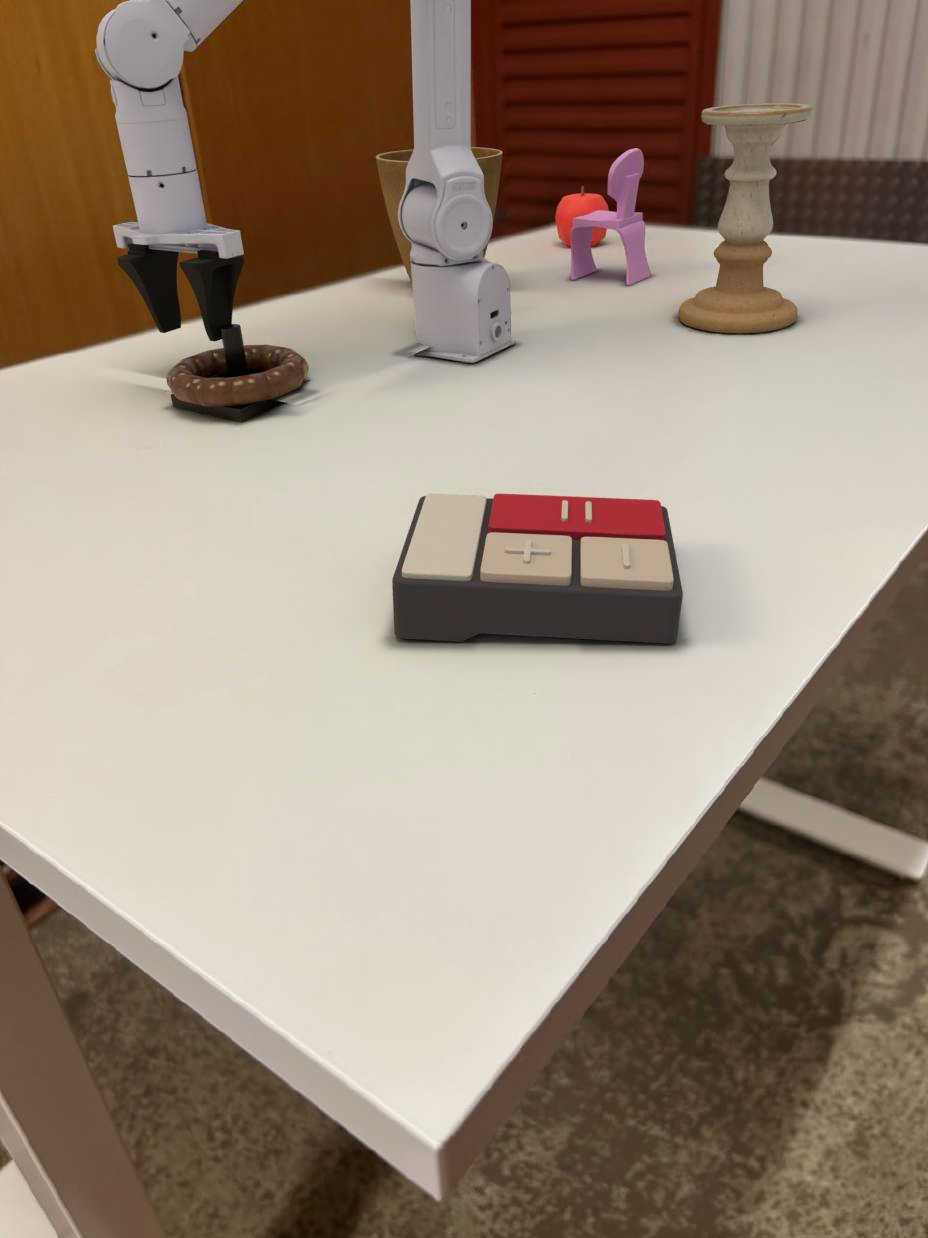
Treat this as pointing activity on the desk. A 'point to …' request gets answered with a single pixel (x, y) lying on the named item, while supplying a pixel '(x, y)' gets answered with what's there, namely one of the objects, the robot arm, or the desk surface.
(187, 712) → the desk surface
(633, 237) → the toy chair
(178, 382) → the ring
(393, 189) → the plant pot
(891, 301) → the desk surface
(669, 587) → the calculator
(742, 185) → the candle holder
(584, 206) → the apple
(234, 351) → the peg stand
